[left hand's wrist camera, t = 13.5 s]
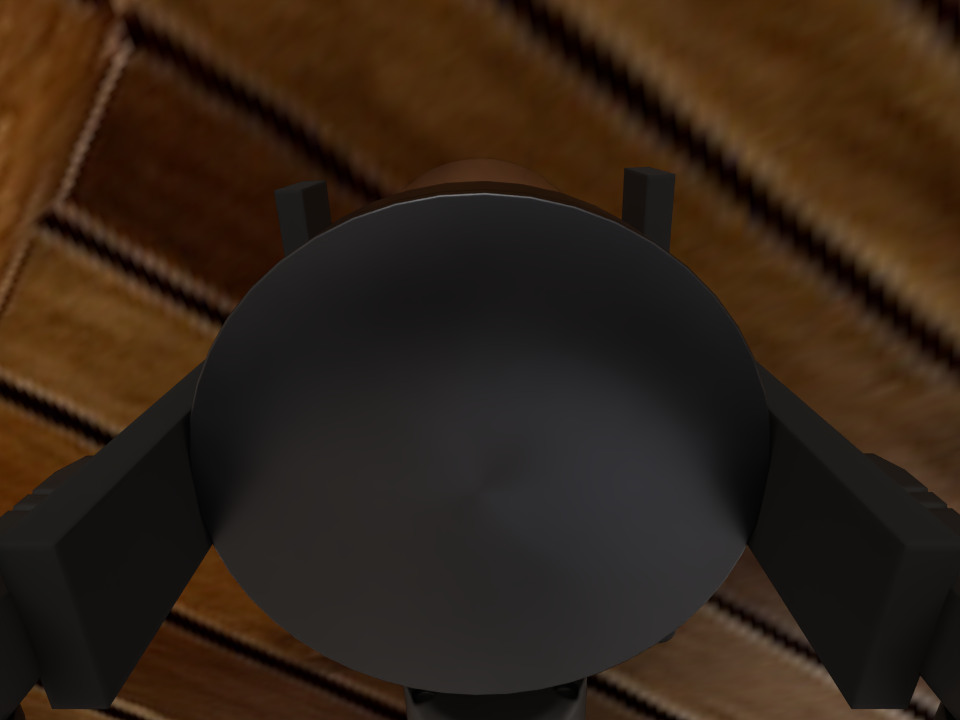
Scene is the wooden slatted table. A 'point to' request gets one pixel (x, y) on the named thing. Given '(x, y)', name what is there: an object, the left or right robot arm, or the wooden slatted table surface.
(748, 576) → the wooden slatted table surface
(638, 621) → the lid
